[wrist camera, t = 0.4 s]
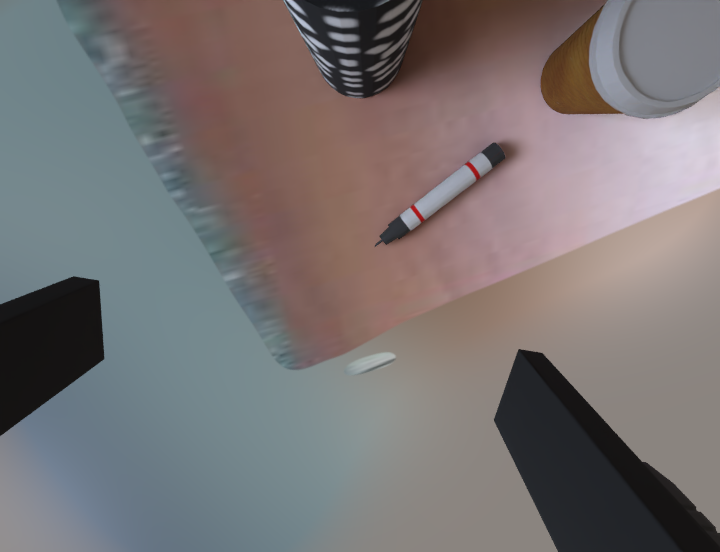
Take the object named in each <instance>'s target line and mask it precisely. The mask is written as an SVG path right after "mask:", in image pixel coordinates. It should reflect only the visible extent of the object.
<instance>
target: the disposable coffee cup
mask: <svg viewBox="0 0 720 552" xmlns="http://www.w3.org/2000/svg"><path fill="white" fill-rule="evenodd" d="M719 86H720V0H608V1H607V2H606V4H605V5H604V6H602V7H601V8H600V10H598V11H597V12H596V13H595V14H594V15H593V16H592V17H591V18H590V19H588V20H587V21H586V22H585V23H584V24H583V25H582V26H581V27H580V28H579V29H578V30H577V31H575V33H574V34H572V35H571V36H570V37H569V38H568V39H567V40H566V41H565V42H564V43H563V44H562V45H561V46H560V47H558V48H557V49H556V50H555V51H554V52H553V53H552V54H551V56H550V57H549V59H548V60H547V62H546V64H545V66H544V68H543V72H542V76H541V91H542V95H543V98H544V100H545V101H546V103H547V104H548V105H549V106H550V107H551V108H552V109H553V110H555V111H556V112H559V113H562V114H625V115H628V116H633V117H638V118H643V119H649V118H661V117H665V116H669V115H673V114H676V113H678V112H680V111H683V110H685V109H687V108H689V107H691V106H692V105H694V104H695V103H697V102H698V101H699V100H701V99H702V98H704V97H705V96H706V95H708V94H709V93H711V92H713V91H714V90H716V89H717V88H718V87H719Z"/></svg>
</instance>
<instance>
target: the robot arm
mask: <svg viewBox="0 0 720 552" xmlns="http://www.w3.org/2000/svg"><path fill="white" fill-rule="evenodd" d="M103 348H104V347H103V332H102V319H101V303H100V288H99V281H98V280H92V279H86V278H80V277H71V278H68V279H66V280H63V281H60V282H58V283H55V284H52V285H50V286H47V287H45V288H42V289H39V290H37V291H34V292H32V293H29V294H26V295H24V296H21V297H19V298H16V299H14V300H11V301H8V302H6V303H3V304H0V436H1V435H2V434H4V433H5V432H6V431H8V430H9V429H10V428H12V427H13V426H14V425H16V424H17V423H18V422H20V421H21V420H22V419H24V418H25V417H26V416H28V415H29V414H31V413H32V412H33V411H34V410H36V409H37V408H39V407H40V406H41V405H43V404H44V403H45V402H47V401H48V400H49V399H51V398H52V397H53V396H55V395H56V394H58V393H59V392H60V391H62V390H63V389H64V388H66V387H67V386H68V385H70V384H71V383H72V382H74V381H75V380H76V379H78V378H79V377H81V376H82V375H83V374H85V373H86V372H87V371H89V370H90V369H91V368H93V367H94V366H95V365H97V364H98V363H99V362H101V361H102V360H104V349H103ZM494 421H495V423H496V425H497V428H498V430H499V431H500V434H501V436H502V438H503V440H504V442H505V444H506V446H507V448H508V450H509V452H510V454H511V456H512V458H513V460H514V462H515V464H516V466H517V469H518V471H519V473H520V475H521V477H522V479H523V481H524V483H525V485H526V487H527V489H528V491H529V493H530V495H531V497H532V499H533V501H534V503H535V505H536V507H537V509H538V511H539V514H540V516H541V518H542V520H543V522H544V524H545V526H546V528H547V530H548V532H549V534H550V536H551V538H552V540H553V542H554V544H555V546H556V548H557V550H558V552H720V533H717V531H716V528H715V526H714V525H713V524H712V523H711V522H710V521H709V520H708V519H707V518H706V517H705V516H704V515H703V514H702V513H701V512H698V511H697V510H696V506H695V505H694V504H693V503H692V502H691V501H690V500H689V499H688V498H687V497H686V496H685V495H684V494H683V493H682V492H681V491H680V490H679V489H678V488H677V487H676V485H675V484H673V483H672V482H671V481H670V480H668V479H667V478H666V477H664V476H663V475H662V474H660V473H659V472H658V471H657V470H655V469H654V468H653V467H652V466H650V465H649V464H648V463H646V462H642V461H641V460H640V459H639V458H638V457H637V456H636V455H635V454H634V453H633V451H631V449H630V448H629V447H628V446H627V445H626V444H625V443H624V442H623V441H622V440H621V438H620V437H618V435H617V434H616V433H615V432H614V431H613V430H612V429H611V428H610V426H609V425H608V424H607V423H606V422H605V421H604V420H603V419H602V418H601V417H600V416H599V414H598V413H597V412H596V411H595V410H594V409H593V408H592V407H591V406H590V405H589V404H588V402H587V401H586V400H585V399H584V398H583V397H582V396H581V395H580V394H579V393H578V391H577V390H576V389H575V388H574V387H573V386H572V385H571V384H570V383H569V382H568V381H567V379H566V378H565V377H564V376H563V375H562V374H561V373H560V372H559V371H558V370H557V369H556V367H554V366H553V364H552V363H551V362H550V361H549V360H548V359H547V358H546V357H545V356H544V354H543V353H538V352H533V351H526V350H521V349H519V350H518V353H517V356H516V358H515V361H514V364H513V367H512V370H511V372H510V375H509V378H508V381H507V384H506V387H505V390H504V393H503V395H502V398H501V401H500V404H499V407H498V410H497V413H496V415H495V418H494Z"/></svg>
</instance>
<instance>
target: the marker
mask: <svg viewBox="0 0 720 552" xmlns="http://www.w3.org/2000/svg"><path fill="white" fill-rule="evenodd" d="M504 159H505V154H504V152H503V150H502V149H501V148H500V146H499V145H497V144H496V143H492V144H491V145H490V146H488V147H487V148H486V149H485V150H483V151H482V152H481V153H479V154H477V155H476V156H475V157H474V158H472V159H471V160H470V161H468V162H467V163H466V164H465V165H463V166H462V167H461V168H460V169H458V170H457V171H456V172H454V173H453V174H452V175H451V176H449V177H448V178H447V179H445V180H444V181H443V182H442V183H440V184H439V185H438V186H436V187H435V188H434V189H433V190H431V191H430V192H429V193H428V194H426V195H425V196H424V197H422V198H421V199H420V200H419V201H417V202H416V203H415V204H413V205H412V206H411V207H410V208H408V209H407V210H406V211H404V212H403V213H402V214H401V215H399V217H397V218H396V219H395V220H394V221H392V222H391V223H390V224H388V226H389V227H388V228H387V229H386V230H385V231H384V232H383V233H382V234H381V235H380V238H381V239H382V240H380V241H379V242H378V243H376V245H375V247H376V246H377V245H378V244H380V243H381V242H382V241H383V242H384V243H385V244H386V245H387V244H388V243H390V242H392V241H393V240H395V239H396V238H398V239H400V238H402V237H403V236H404V235H405V234H407V233H408V232H409V231H411V230H413V229H414V228H415V227H417V226H418V225H419V224H421V223H422V222H423V221H424V220H426V219H427V218H428V217H430V216H431V215H432V214H434V213H435V212H436V211H438V210H439V209H440V208H442V207H443V206H444V205H445V204H447V203H448V202H449V201H451V200H452V199H453V198H455V197H456V196H457V195H459V194H460V193H461V192H462V191H464V190H465V189H466V188H468V187H469V186H470V185H472V184H473V183H474V182H476V181H477V180H478V179H480V178H481V177H482V176H483V175H485V174H486V173H487V172H489V171H490V170H491V169H492V168H493V167H495V166H496V165H497V164H498V163H500V162H501V161H502V160H504Z"/></svg>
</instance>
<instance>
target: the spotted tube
mask: <svg viewBox="0 0 720 552" xmlns="http://www.w3.org/2000/svg"><path fill="white" fill-rule="evenodd" d="M283 1H284V3H285V5H286V6H287V8H288V10H289V12H290V14H291V16H292V18H293V20H294V22H295V24H296V26H297V28H298V30H299V32H300V33H301V35H302V37H303V39H304V41H305V43H306V45H307V47H308V49H309V51H310V53H311V55H312V57H313V59H314V61H315V62H316V64H317V66H318V68H319V70H320V72H321V74H322V75H323V77H324V79H325V80H326V82H327V83H328V84H329V85H330V86H331V87H332V88H333V89H335V90H336V91H338V92H339V93H341V94H343V95H345V96H348V97H353V98H366V97H370V96H373V95H376V94H378V93H380V92H381V91H383V90H384V89H385V88H387V87H388V86H389V85H390V83H391V82H392V81H393V80H394V79H395V77H396V75H397V74H398V72H399V69H400V67H401V64H402V62H403V58H404V55H405V52H406V49H407V46H408V43H409V40H410V37H411V34H412V31H413V28H414V25H415V22H416V19H417V16H418V13H419V10H420V7H421V4H422V1H423V0H283Z"/></svg>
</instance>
